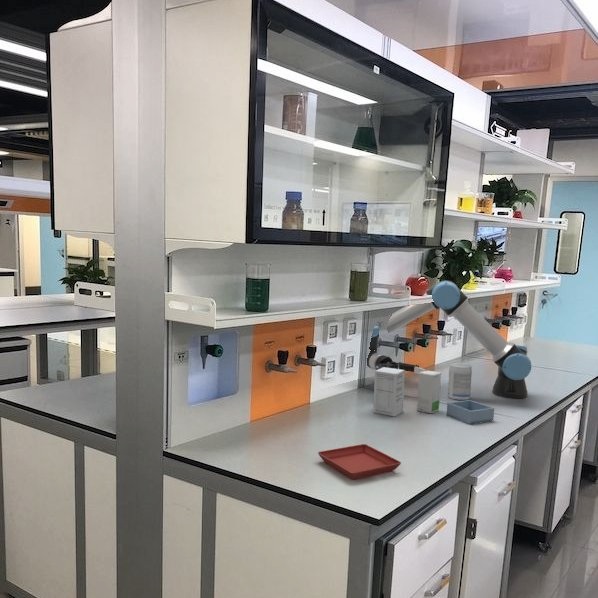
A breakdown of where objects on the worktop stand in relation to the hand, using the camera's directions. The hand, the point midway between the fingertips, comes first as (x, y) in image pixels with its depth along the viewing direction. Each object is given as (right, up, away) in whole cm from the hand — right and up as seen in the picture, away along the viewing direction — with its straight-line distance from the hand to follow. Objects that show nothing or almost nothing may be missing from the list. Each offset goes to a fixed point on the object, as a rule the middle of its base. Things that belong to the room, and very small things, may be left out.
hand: (412, 374), depth 241 cm
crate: (+19, -15, -16) cm, 29 cm away
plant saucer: (-30, -19, -70) cm, 79 cm away
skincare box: (+5, -14, -7) cm, 16 cm away
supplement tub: (+23, -13, +15) cm, 30 cm away
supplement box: (-12, -14, -12) cm, 22 cm away
